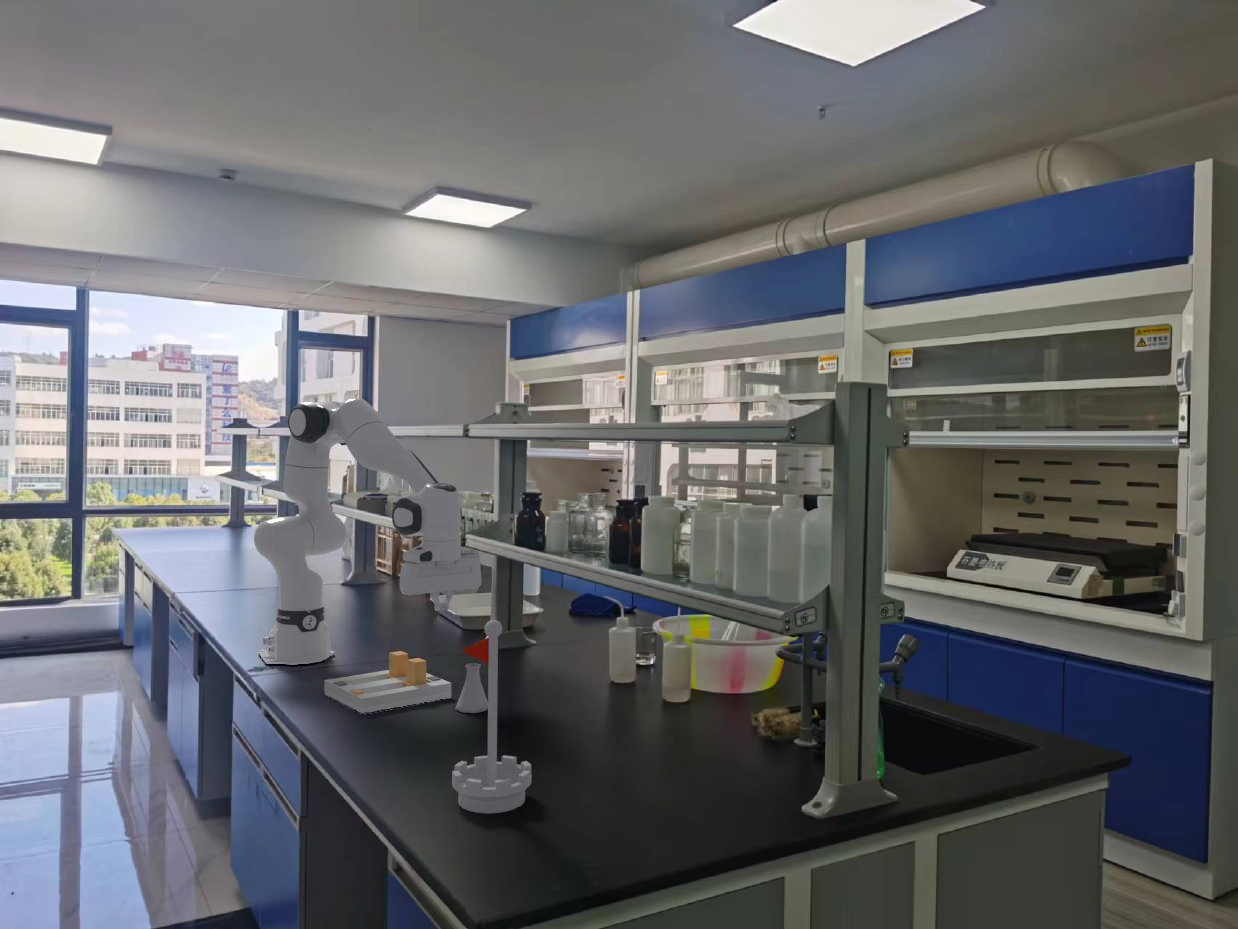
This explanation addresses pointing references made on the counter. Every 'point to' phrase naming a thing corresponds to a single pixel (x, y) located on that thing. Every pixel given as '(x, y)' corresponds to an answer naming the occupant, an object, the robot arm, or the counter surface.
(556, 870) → the counter surface
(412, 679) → the tab
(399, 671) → the tab
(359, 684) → the switch box
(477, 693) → the flask
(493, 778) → the flag stand
